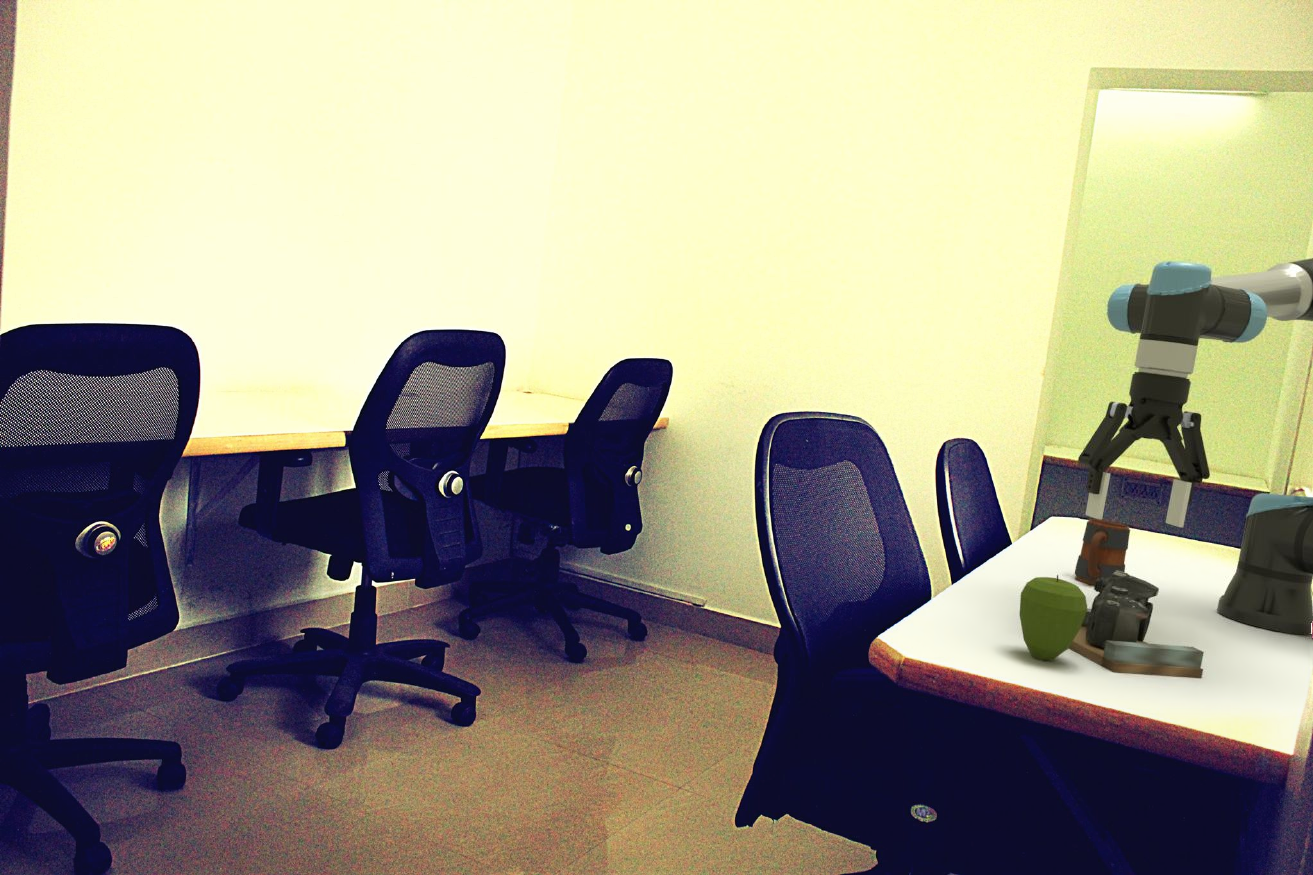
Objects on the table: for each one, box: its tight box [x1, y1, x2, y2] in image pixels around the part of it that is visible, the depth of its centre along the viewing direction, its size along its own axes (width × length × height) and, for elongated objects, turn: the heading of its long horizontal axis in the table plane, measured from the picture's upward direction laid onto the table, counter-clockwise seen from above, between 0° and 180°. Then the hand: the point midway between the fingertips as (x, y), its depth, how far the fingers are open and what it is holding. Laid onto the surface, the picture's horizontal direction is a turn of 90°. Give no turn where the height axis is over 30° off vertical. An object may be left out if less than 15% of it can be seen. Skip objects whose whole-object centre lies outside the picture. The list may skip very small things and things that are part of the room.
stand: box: [1068, 607, 1205, 679], centre depth 151 cm, size 14×20×4 cm
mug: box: [1074, 518, 1131, 587], centre depth 201 cm, size 9×12×12 cm
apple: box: [1019, 574, 1089, 661], centre depth 141 cm, size 9×8×12 cm
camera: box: [1086, 570, 1160, 649], centre depth 151 cm, size 13×10×10 cm
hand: (1134, 521), depth 151 cm, fingers open, 13 cm apart
